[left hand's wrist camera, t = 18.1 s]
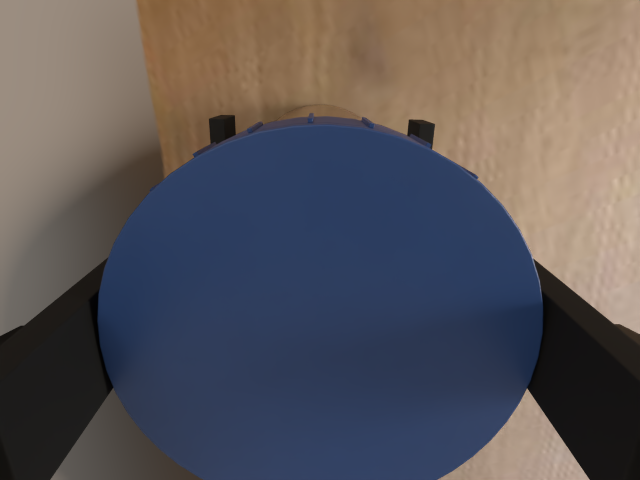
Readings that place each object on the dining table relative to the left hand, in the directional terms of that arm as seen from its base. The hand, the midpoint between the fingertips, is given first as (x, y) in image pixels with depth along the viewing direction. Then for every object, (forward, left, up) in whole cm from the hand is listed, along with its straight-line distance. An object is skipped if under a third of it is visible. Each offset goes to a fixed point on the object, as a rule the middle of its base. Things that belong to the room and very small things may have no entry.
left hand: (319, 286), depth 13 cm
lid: (0, 0, +3) cm, 3 cm away
